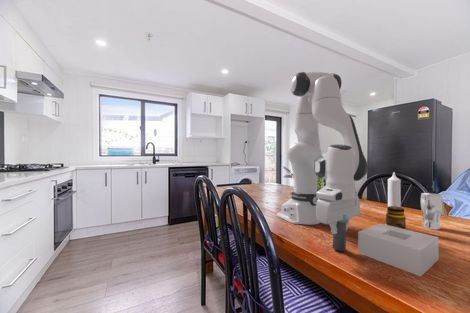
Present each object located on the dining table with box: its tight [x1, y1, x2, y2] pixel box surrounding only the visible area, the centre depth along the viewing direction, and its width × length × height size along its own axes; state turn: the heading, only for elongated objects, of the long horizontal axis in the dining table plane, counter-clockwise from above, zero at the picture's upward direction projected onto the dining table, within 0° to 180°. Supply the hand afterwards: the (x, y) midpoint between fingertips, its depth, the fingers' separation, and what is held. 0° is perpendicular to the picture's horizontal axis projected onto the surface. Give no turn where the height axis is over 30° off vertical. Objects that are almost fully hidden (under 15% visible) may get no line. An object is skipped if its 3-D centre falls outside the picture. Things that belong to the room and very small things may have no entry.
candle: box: [385, 171, 402, 225], centre depth 91 cm, size 7×7×25 cm
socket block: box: [357, 223, 439, 277], centre depth 66 cm, size 16×16×7 cm
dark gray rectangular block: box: [332, 214, 347, 252], centre depth 70 cm, size 4×4×12 cm
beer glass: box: [420, 192, 443, 231], centre depth 91 cm, size 7×7×15 cm
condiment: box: [385, 206, 407, 230], centre depth 81 cm, size 7×8×12 cm
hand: (339, 231), depth 70 cm, fingers closed on dark gray rectangular block, 4 cm apart
